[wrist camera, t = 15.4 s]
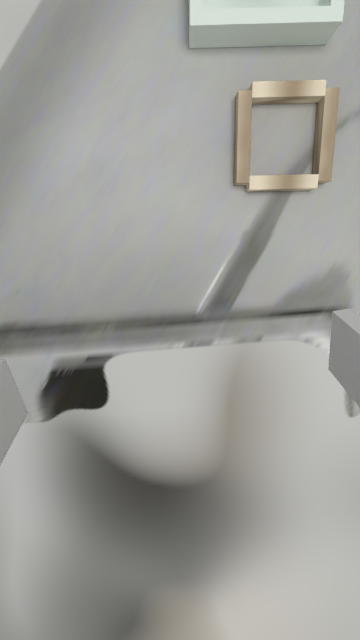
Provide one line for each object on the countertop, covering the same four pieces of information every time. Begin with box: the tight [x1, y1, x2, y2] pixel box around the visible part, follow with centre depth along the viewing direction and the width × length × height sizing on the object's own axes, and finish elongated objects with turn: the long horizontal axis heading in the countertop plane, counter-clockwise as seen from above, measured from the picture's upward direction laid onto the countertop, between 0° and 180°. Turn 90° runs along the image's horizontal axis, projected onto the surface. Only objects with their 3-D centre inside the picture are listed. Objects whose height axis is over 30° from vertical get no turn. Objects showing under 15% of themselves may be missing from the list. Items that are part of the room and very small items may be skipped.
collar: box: [234, 80, 340, 192], centre depth 36 cm, size 10×10×2 cm
